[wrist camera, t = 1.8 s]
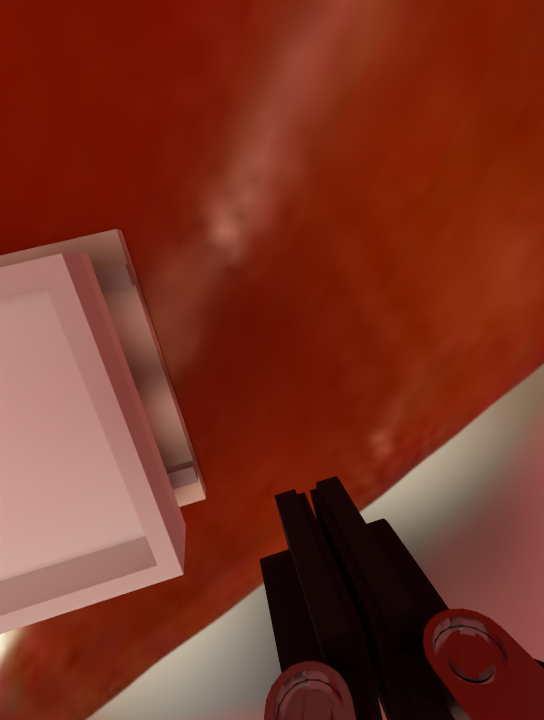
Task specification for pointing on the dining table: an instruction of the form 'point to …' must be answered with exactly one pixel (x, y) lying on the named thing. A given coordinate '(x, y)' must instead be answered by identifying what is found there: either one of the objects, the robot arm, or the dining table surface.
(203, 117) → the dining table surface
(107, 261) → the rail board
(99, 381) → the pink rimmed tray
